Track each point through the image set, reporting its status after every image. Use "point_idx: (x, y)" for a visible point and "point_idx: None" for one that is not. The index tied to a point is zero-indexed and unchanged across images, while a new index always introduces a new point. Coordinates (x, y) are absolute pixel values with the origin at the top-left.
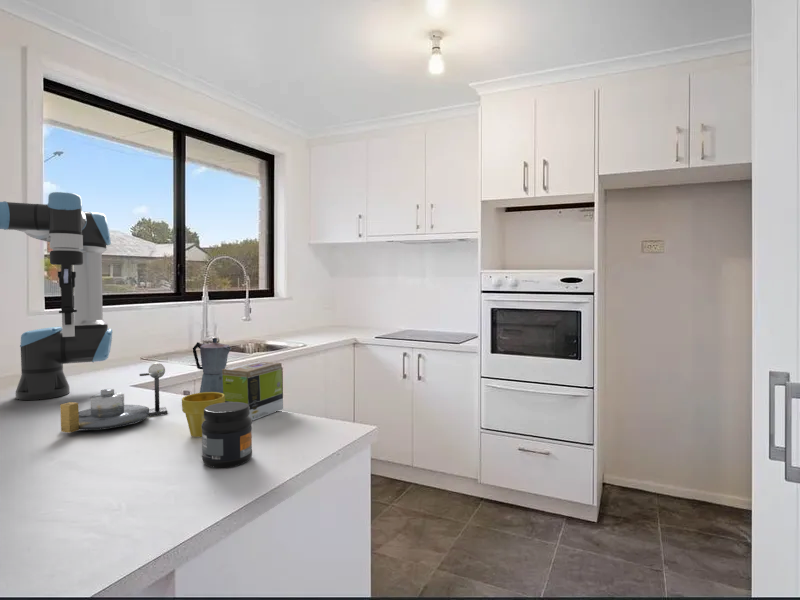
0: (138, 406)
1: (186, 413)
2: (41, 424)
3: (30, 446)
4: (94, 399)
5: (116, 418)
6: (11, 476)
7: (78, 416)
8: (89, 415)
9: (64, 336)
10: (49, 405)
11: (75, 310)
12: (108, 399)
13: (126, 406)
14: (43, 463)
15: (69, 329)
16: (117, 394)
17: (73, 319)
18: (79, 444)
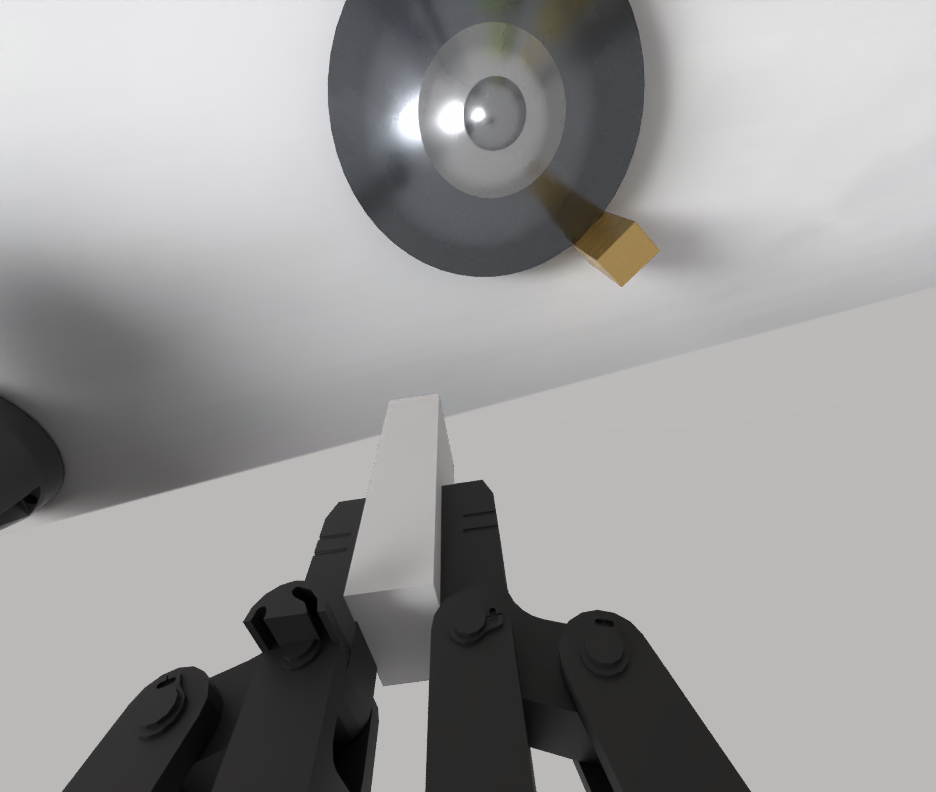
0: None
1: None
2: (405, 351)
3: (641, 318)
4: (541, 172)
5: (588, 69)
6: (877, 294)
7: (615, 216)
8: (485, 198)
9: (450, 457)
10: (139, 392)
11: (331, 614)
12: (565, 101)
13: (371, 48)
14: (829, 246)
15: (445, 463)
16: (479, 63)
17: (437, 509)
18: (706, 184)
